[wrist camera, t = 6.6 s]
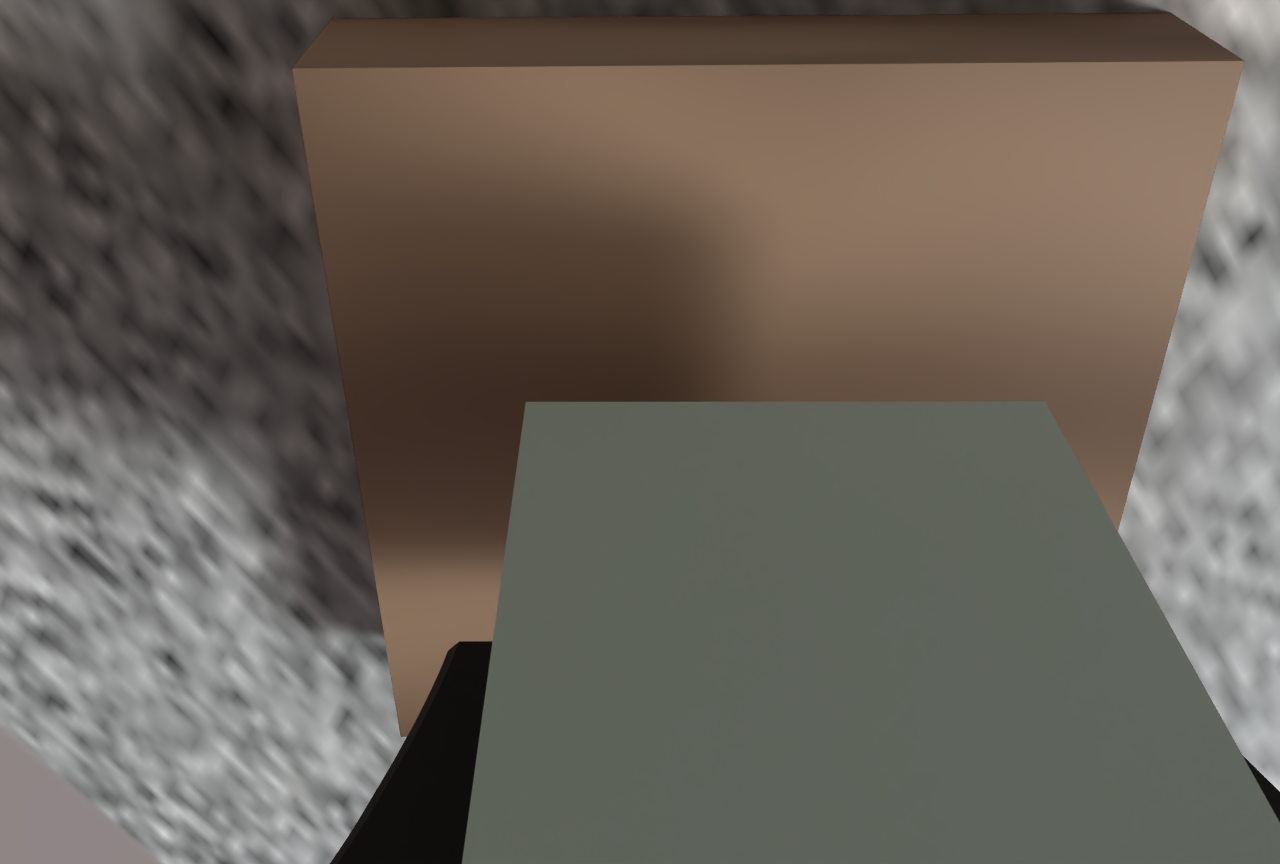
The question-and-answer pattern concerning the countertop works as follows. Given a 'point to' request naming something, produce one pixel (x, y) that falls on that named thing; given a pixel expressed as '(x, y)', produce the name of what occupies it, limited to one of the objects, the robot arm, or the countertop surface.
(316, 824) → the countertop surface
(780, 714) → the sage block
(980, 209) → the walnut board
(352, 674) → the countertop surface
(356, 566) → the countertop surface
